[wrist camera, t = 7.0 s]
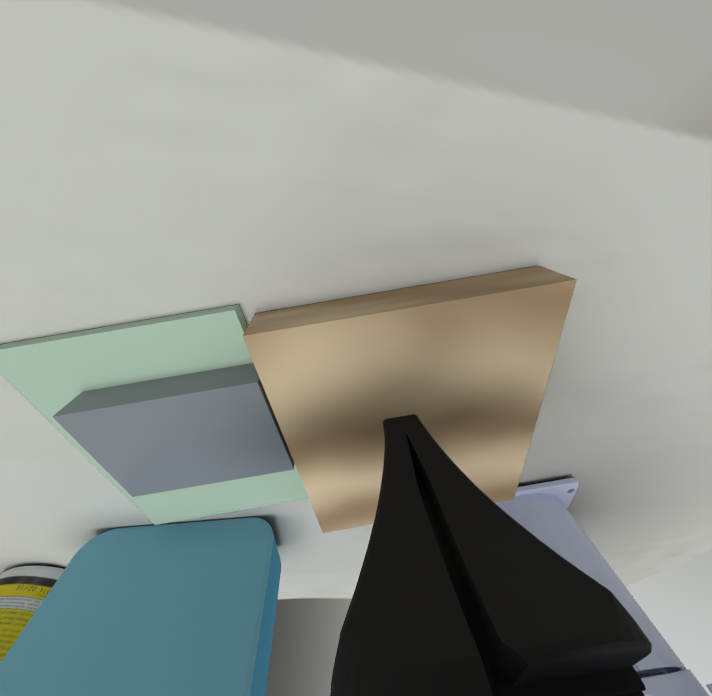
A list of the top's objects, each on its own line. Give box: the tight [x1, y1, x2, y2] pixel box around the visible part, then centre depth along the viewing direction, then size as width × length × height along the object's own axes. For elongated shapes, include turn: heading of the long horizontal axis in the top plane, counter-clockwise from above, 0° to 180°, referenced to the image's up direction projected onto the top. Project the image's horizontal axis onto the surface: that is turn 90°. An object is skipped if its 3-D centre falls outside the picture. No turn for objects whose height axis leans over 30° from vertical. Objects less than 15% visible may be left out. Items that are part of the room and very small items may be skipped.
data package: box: [0, 517, 281, 696], centre depth 14 cm, size 12×4×12 cm, turn 89°
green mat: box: [0, 304, 309, 525], centre depth 14 cm, size 13×10×1 cm
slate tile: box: [52, 363, 295, 497], centre depth 13 cm, size 6×8×2 cm
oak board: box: [243, 266, 576, 533], centre depth 14 cm, size 14×12×2 cm
